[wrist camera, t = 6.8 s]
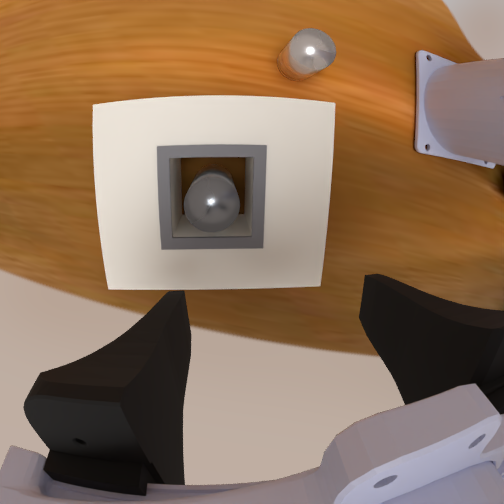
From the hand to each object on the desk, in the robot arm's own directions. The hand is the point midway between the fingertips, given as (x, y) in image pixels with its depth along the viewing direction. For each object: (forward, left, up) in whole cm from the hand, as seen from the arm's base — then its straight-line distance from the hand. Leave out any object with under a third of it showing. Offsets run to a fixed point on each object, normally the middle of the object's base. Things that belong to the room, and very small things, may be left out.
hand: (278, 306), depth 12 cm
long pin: (+3, -3, -9) cm, 10 cm away
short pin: (-2, -11, -9) cm, 15 cm away
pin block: (+3, -3, -9) cm, 10 cm away
